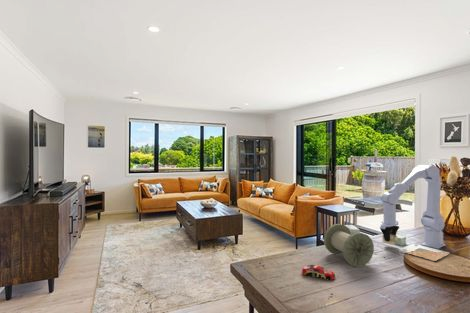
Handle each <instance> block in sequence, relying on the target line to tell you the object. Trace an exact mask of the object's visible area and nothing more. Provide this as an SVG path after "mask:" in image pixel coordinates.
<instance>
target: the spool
mask: <svg viewBox="0 0 470 313" xmlns="http://www.w3.org/2000/svg"><path fill="white" fill-rule="evenodd" d="M323 244H324V247H325V249H327V251H328V252H329V253H331V254H334V255H336V254H337V255H343V257H344V259H345V261H346V262H347V263H348V264H349V265H350V266H353V267H356V268H358V267H364V266H365V265H367V264H369V262H370V261H371V259H373V255H374V252H375V250H374V248H375V247H374V246H375V245H374V242H373V240H372V238H371V237H370V236H369V235H368V234H365V233H363V232H358V233H353V234H352V235H351V233H350V230H349V229H348V228H347V227H346V226H345V225H344V224H341V223H334V224H332V225H331V226H328V228H327V229H326V231H325V233H324V236H323Z"/></svg>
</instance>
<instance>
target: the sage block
mask: <svg viewBox="0 0 470 313" xmlns="http://www.w3.org/2000/svg"><path fill="white" fill-rule="evenodd" d="M396 236H397V243H396V244H395V245H398V246H401V247H402V246H404V245H406V244H407V236H404V235H399V234H396Z"/></svg>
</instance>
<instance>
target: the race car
mask: <svg viewBox="0 0 470 313" xmlns="http://www.w3.org/2000/svg"><path fill="white" fill-rule="evenodd" d="M301 274H302V275H304V276H306V277H307V276H311V277H310V278H315V277H317V279H321V278H322V280H326V279H328V280H327V281H331V280H335V279H336V274H335V272H334V271H333V270H330V269H327V268H324V267H323V266H321V265H317V264H308V265H303V267H302V269H301Z"/></svg>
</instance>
